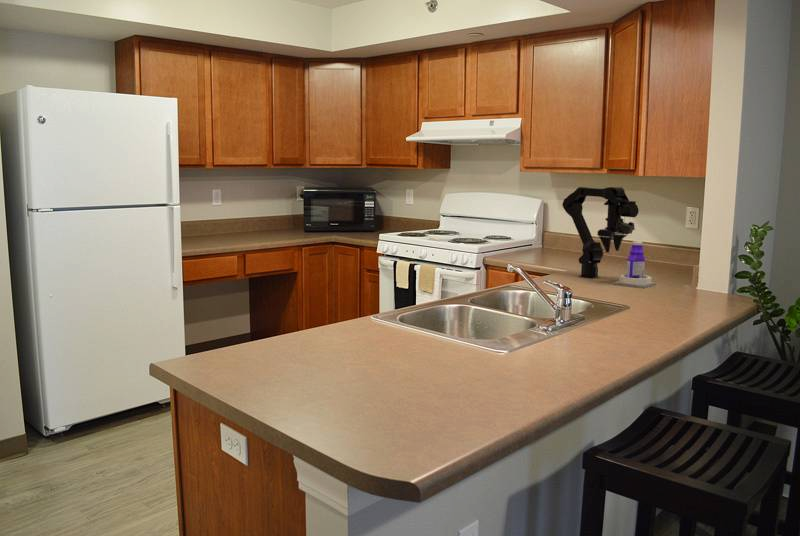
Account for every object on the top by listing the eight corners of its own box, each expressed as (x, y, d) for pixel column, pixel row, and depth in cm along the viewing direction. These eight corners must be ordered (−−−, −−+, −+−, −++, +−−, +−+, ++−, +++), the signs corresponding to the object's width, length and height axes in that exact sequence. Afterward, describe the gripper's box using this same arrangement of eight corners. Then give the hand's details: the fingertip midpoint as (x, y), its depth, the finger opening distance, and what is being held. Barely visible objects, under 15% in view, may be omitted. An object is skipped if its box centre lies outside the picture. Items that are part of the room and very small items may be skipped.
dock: (613, 284, 287) (614, 276, 286) (627, 281, 296) (627, 273, 296) (643, 288, 278) (644, 280, 277) (656, 284, 287) (656, 276, 287)
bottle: (637, 280, 291) (639, 240, 288) (646, 282, 286) (648, 242, 283) (623, 281, 288) (625, 241, 286) (632, 283, 283) (634, 242, 281)
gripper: (622, 218, 280) (620, 255, 282) (641, 216, 294) (639, 251, 296) (597, 216, 288) (595, 252, 290) (617, 214, 301) (615, 249, 303)
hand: (612, 251), depth 295 cm, fingers open, 9 cm apart
